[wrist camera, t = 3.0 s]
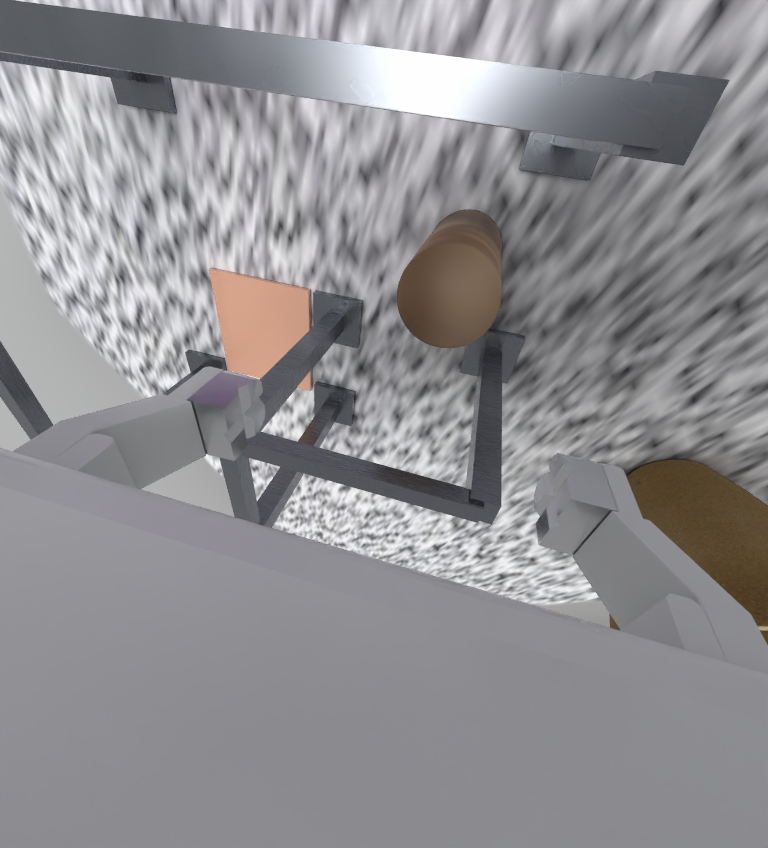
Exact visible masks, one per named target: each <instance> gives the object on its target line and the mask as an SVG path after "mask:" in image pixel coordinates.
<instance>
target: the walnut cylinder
mask: <svg viewBox="0 0 768 848" xmlns="http://www.w3.org/2000/svg"><path fill="white" fill-rule="evenodd" d="M501 285H502V239H501V235H500V231H499V229H498V227H497V225H496V224H495V223H494V221H493V220H492V219H491V218H490V217H489V216H487V215H486V214H484V213H482V212H479V211H476V210H461V211H457V212H454V213H452V214H450V215H449V216H447V217H446V218H444V219H443V220H442V221H441V222H440V223H439V224H438V226H437V227H436V228H435V230H434V231H433V232H432V234H431V235H430V236H429V238H428V239H427V240H426V242H425V243H424V244H423V246H422V247H421V248H420V250H419V251H418V252H417V254H416V255H415V256H414V258H413V259H412V260H411V262H410V263H409V264H408V266H407V267H406V269H405V270H404V272H403V274H402V276H401V278H400V281H399V285H398V290H397V305H398V310H399V313H400V316H401V318H402V320H403V322H404V324H405V325H406V327H407V328H408V329H409V331H410V332H411V333H412V334H413V335H414V336H415V337H417V338H418V339H419V340H421V341H423V342H425V343H427V344H429V345H432V346H436V347H441V348H455V347H460V346H464V345H467V344H469V343H471V342H473V341H475V340H477V339H478V338H480V337H481V336H482V335H483V334H484V333H485V332H486V331H487V330H488V329H489V328H490V327H491V325H492V324H493V322H494V321H495V319H496V317H497V314H498V312H499V308H500V304H501Z"/></svg>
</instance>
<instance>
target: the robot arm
mask: <svg viewBox="0 0 768 848" xmlns="http://www.w3.org/2000/svg"><path fill="white" fill-rule="evenodd" d="M262 393H263V389H262V382H261V381H259V380H258V379H256V378H252V377H249V376H245V375H241V374H238V373H234V372H230V371H227V370H226V371H225V370H222V369H218V368H214V367H211V366H210V367H204V368H203V369H202V370H200V371H199V372H198V373H196V374H195V375H194V376H192V377H191V378H190V379H188V380H187V381H186V382H185V383H183V384H182V385H181V386H179V387H178V388H177V389H175V390H174V391H173V392H171V393H170V394H169V395H164V394H161V395H157V396H153V397H149V398H146V399H142V400H138V401H134V402H131V403H127V404H123V405H120V406H116V407H112V408H108V409H104V410H100V411H97V412H93V413H89V414H86V415H82V416H78V417H74V418H70V419H67V420H63V421H60V422H58V423H56V424H55V425H53V426H52V427H50V428H49V429H47V430H46V431H44V432H42V433H41V434H39V435H38V436H36V437H35V438H33V439H31V440H30V441H28V442H27V443H25V444H24V445H22V446H20V447H19V448H17V449H16V450H14V451H13V452H12V451H9V450H5V449H2V448H0V848H768V645H767V643H766V641H765V639H764V638H763V636H762V634H761V632H760V630H759V628H758V626H757V625H756V623H755V621H754V619H753V617H752V615H751V614H750V613H749V612H748V611H747V610H746V609H745V608H744V607H743V606H741V605H740V604H739V603H738V602H737V601H736V600H735V599H734V598H733V597H732V596H731V595H730V594H729V593H727V592H726V591H725V590H724V589H723V588H722V587H721V586H720V585H719V584H718V583H717V582H716V581H715V580H713V579H712V578H711V577H710V576H709V575H708V574H707V573H706V572H705V571H704V570H703V569H702V568H700V567H699V566H698V565H697V564H696V563H695V562H694V561H693V560H692V559H691V558H690V557H689V556H688V555H686V554H685V553H684V552H683V551H682V550H681V549H680V548H679V547H678V546H677V545H676V544H675V543H674V542H672V541H671V540H670V539H669V538H668V537H667V536H666V535H665V534H664V533H663V532H662V531H661V530H660V529H658V528H657V527H656V526H655V525H654V524H653V523H652V522H651V521H650V520H646V519H643V517H642V515H641V512H640V510H639V507H638V505H637V502H636V500H635V497H634V495H633V492H632V490H631V487H630V485H629V482H628V480H627V477H626V475H625V472H624V470H623V469H622V468H620V467H618V466H613V465H609V464H604V463H600V462H598V463H597V462H593V461H589V460H584V459H580V458H576V457H572V456H568V455H564V454H560V453H557V454H556V455H555V456H554V457H553V458H552V460H551V461H550V463H549V467H550V472H548V473H546V474H544V475H542V476H541V478H540V480H539V482H538V484H537V487H536V490H535V495H534V507H535V510H536V511H537V513H538V514H539V515H540V518H539V519H538V521H537V523H536V526H537V535H538V544H539V545H540V546H544V547H547V548H550V549H554V550H557V551H560V552H564V553H567V554H570V555H574V556H573V558H574V560H575V561H576V563H577V564H578V566H579V567H580V569H581V570H582V572H583V574H584V575H585V577H586V578H587V580H588V581H589V583H590V584H591V586H592V587H593V589H594V590H595V592H596V593H597V595H598V596H599V598H600V599H601V601H602V602H603V604H604V605H605V607H606V609H607V610H608V611H609V613H610V615H611V616H612V618H613V619H614V621H615V622H616V624H617V625H618V627H619V628H620V631H619V630H616V629H613V628H609V627H606V626H602V625H599V624H596V623H592V622H589V621H586V620H582V619H578V618H575V617H572V616H568V615H565V614H562V613H558V612H555V611H552V610H548V609H545V608H541V607H538V606H535V605H531V604H528V603H525V602H521V601H518V600H514V599H511V598H508V597H504V596H501V595H497V594H494V593H491V592H487V591H484V590H480V589H477V588H474V587H470V586H467V585H463V584H460V583H457V582H453V581H450V580H446V579H443V578H439V577H436V576H433V575H429V574H426V573H422V572H419V571H416V570H412V569H409V568H405V567H402V566H399V565H395V564H392V563H388V562H385V561H382V560H378V559H375V558H372V557H368V556H365V555H361V554H358V553H355V552H351V551H348V550H344V549H341V548H338V547H334V546H331V545H328V544H324V543H321V542H317V541H314V540H311V539H307V538H304V537H300V536H297V535H294V534H290V533H287V532H283V531H280V530H277V529H273V528H270V527H267V526H263V525H260V524H256V523H253V522H250V521H246V520H243V519H239V518H236V517H233V516H229V515H226V514H222V513H219V512H216V511H212V510H209V509H205V508H202V507H199V506H195V505H191V504H188V503H185V502H181V501H178V500H175V499H172V498H168V497H165V496H161V495H158V494H154V493H151V492H148V491H144V490H141V489H142V488H144V487H145V486H147V485H149V484H151V483H153V482H155V481H157V480H159V479H161V478H163V477H165V476H167V475H169V474H171V473H173V472H175V471H177V470H179V469H181V468H183V467H185V466H186V465H188V464H190V463H192V462H194V461H196V460H198V459H200V458H202V457H204V456H206V454H208V455H212V456H216V457H220V458H224V459H228V460H232V461H235V460H236V458H237V457H238V456H239V455H240V454H241V452H242V451H243V450H244V449H245V448H246V446H247V439H248V438H250V437H253V436H255V435H256V434H257V433H258V432H259V430H260V429H261V427H262V424H263V422H264V419H265V405H264V403H263V402H262V401H261V399H260V398H259V396H260V395H261V394H262Z"/></svg>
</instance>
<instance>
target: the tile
mask: <svg viewBox="0 0 768 848" xmlns="http://www.w3.org/2000/svg"><path fill="white" fill-rule="evenodd" d="M209 272H210V277H211V282H212V288H213V293H214V298H215V303H216V308H217V314H218V319H219V324H220V329H221V334H222V340H223V345H224V350H225V355H226V361H227V366H228V370H230V371H234V372H238V373H242V374H246V375H250V376H254V377H258V378H262V377H263V376H264V375H265V374H266V373H267V372H268V371H269V370H270V369H271V368H272V367H273V366H274V365H275V364H276V363H277V362H278V361H279V360H280V359H281V358H282V357H283V356H284V355H285V354H286V353H287V352H288V351H289V350H290V349H291V348H292V347H293V346H294V345H295V344H296V343H297V342H298V341H299V340H300V339H301V338H302V337H303V336H304V335H305V334H306V333H307V332H308V331H309V330H310V329H311V289H307V288H303V287H298V286H294V285H289V284H284V283H280V282H275V281H271V280H266V279H261V278H257V277H252V276H248V275H243V274H238V273H234V272H229V271H225V270H220V269H216V268H210V269H209ZM297 388H301V389H305V390H309V391H311V390H312V370H311V371H310V372H309V373H308V375H307V376H306V377H305V378H304V379H303V381H302V382H301V383H300V384H299V385H298V387H297Z"/></svg>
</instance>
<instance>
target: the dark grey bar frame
mask: <svg viewBox="0 0 768 848" xmlns="http://www.w3.org/2000/svg"><path fill="white" fill-rule="evenodd" d="M0 61H6V62H13V63H19V64H26V65H32V66H39V67H46V68H52V69H59V70H65V71H72V72H79V73H85V74H92V75H98V76H105V77H111V81H112V84H113V88H114V92H115V95H116V99H117V103H118V104H122V105H128V106H134V107H140V108H147V109H153V110H159V111H165V112H172V113H177V112H176V107H175V102H174V97H173V92H172V87H171V82H170V77H171V78H177V79H184V80H191V81H197V82H204V83H211V84H217V85H224V86H231V87H237V88H244V89H251V90H257V91H264V92H271V93H278V94H284V95H291V96H298V97H304V98H311V99H318V100H324V101H331V102H338V103H344V104H351V105H358V106H364V107H371V108H378V109H384V110H391V111H398V112H405V113H411V114H418V115H425V116H431V117H438V118H445V119H451V120H458V121H465V122H471V123H478V124H485V125H491V126H498V127H505V128H512V129H518V130H525V131H530V133H529V136H528V139H527V143H526V146H525V150H524V153H523V156H522V160H521V163H520V167H519V169H521V170H527V171H534V172H540V173H546V174H552V175H558V176H564V177H571V178H577V179H583V180H589V181H590V178H591V176H592V173H593V171H594V168H595V166H596V163H597V161H598V159H599V156H600V154H601V153H606V154H612V155H618V156H625V157H631V158H638V159H644V160H651V161H658V162H664V163H671V164H677V165H684V164H685V162H686V160H687V158H688V157H689V155H690V153H691V151H692V149H693V147H694V145H695V143H696V142H697V140H698V138H699V136H700V134H701V132H702V130H703V129H704V127H705V125H706V123H707V121H708V119H709V117H710V115H711V114H712V112H713V110H714V108H715V106H716V104H717V102H718V101H719V99H720V97H721V95H722V93H723V91H724V89H725V87H726V86H727V84H728V82H729V80H725V79H717V78H709V77H701V76H693V75H685V74H677V73H669V72H661V71H654V72H652V73H650V74H647V75H645V76H643V77H641V78H638V79H636V80H631V79H623V78H615V77H607V76H599V75H592V74H584V73H576V72H568V71H560V70H553V69H545V68H537V67H529V66H521V65H514V64H506V63H498V62H490V61H482V60H474V59H467V58H459V57H451V56H443V55H435V54H428V53H420V52H412V51H404V50H396V49H389V48H381V47H373V46H365V45H357V44H349V43H342V42H334V41H326V40H318V39H310V38H303V37H295V36H287V35H279V34H271V33H264V32H256V31H248V30H240V29H232V28H225V27H217V26H209V25H201V24H193V23H185V22H178V21H170V20H162V19H154V18H146V17H139V16H131V15H123V14H115V13H107V12H100V11H92V10H84V9H76V8H68V7H61V6H53V5H45V4H37V3H29V2H21V1H14V0H0ZM362 302H363V301H362V300H358V299H353V298H349V297H344V296H339V295H335V294H330V293H326V292H321V291H315V292H314V293H313V311H314V326H313V327H312V328H311V329H310V330H309V331H308V332H307V333H306V334H305V335H304V336H303V337H302V338H301V339H300V340H299V341H298V342H297V343H296V344H295V345H294V346H293V347H292V348H291V349H290V350H289V351H288V352H287V353H286V354H285V355H284V356H283V357H282V358H281V359H280V360H279V361H278V362H277V363H276V364H275V365H274V366H273V367H272V368H271V369H270V370H269V371H268V372H267V373H266V374H265V375H264V376H263V377H262V378H261V379H260V380H259V381H261V382H262V389H263V393H262V394H261V395H260V396H259V398H260V399H261V401H262V402H263V403H264V405H265V419H264V422H263V424H262V427H261V429H260V430H259V432H258V433H257V434H256V435H255V436H253V437H250V438H248V439H247V446H246V448H245V449H244V450H243V451H242V452H241V454H240V455H239V456H238V457H237V458H236V460H235V461H232V460H228V459H224V458H220V461H221V465H222V469H223V473H224V477H225V481H226V485H227V489H228V492H229V496H230V500H231V504H232V507H233V512H234V516H235V517H236V518H239V519H243V520H246V521H250V522H253V523H256V524H260V525H263V526H267V527H270V528H272V526H273V525H274V523H275V521H276V520H277V518H278V516H279V515H280V513H281V511H282V510H283V508H284V506H285V504H286V503H287V501H288V499H289V498H290V496H291V494H292V493H293V491H294V489H295V488H296V486H297V484H298V483H299V481H300V479H301V478H302V476H303V474H304V473H305V474H308V475H312V476H315V477H319V478H322V479H326V480H329V481H333V482H336V483H340V484H343V485H347V486H350V487H354V488H357V489H361V490H364V491H368V492H371V493H375V494H378V495H382V496H385V497H389V498H392V499H396V500H399V501H403V502H406V503H410V504H413V505H417V506H420V507H424V508H428V509H431V510H435V511H438V512H442V513H445V514H449V515H452V516H456V517H459V518H463V519H466V520H470V521H473V522H477V523H478V522H479V521H482V522H485V523H489V524H492V523H493V521H494V519H495V517H496V515H497V513H498V511H499V510H500V508H501V456H502V382H503V383H508V380H509V378H510V375H511V373H512V370H513V368H514V365H515V363H516V361H517V358H518V356H519V353H520V351H521V348H522V346H523V343H524V341H525V336H523V335H518V334H514V333H509V332H504V331H500V330H495V329H491V328H489V329H488V330H487V331H486V332H485V333H484V334H483V335H482V336H481V337H480V338H478V339H477V340H475V341H473V342H471V343H469V344H467V347H466V350H465V353H464V357H463V360H462V364H461V367H460V371H459V372H461V373H465V374H469V375H474V376H478V378H477V387H476V396H475V406H474V415H473V424H472V433H471V443H470V452H469V461H468V470H467V480H466V488H464V487H460V486H456V485H453V484H449V483H446V482H442V481H438V480H435V479H431V478H427V477H424V476H420V475H416V474H413V473H409V472H405V471H402V470H398V469H394V468H391V467H387V466H384V465H380V464H376V463H373V462H369V461H365V460H362V459H358V458H354V457H351V456H347V455H343V454H340V453H336V452H332V451H329V450H325V449H322V448H319V447H320V445H321V444H322V442H323V440H324V439H325V437H326V435H327V434H328V432H329V430H330V429H331V427H332V425H333V424H334V422H337V423H341V424H345V425H349V426H351V425H352V424H353V416H354V404H355V391H352V390H348V389H344V388H340V387H336V386H332V385H328V384H324V383H320V382H316V383H315V385H314V399H315V417H314V418H313V420H312V421H311V423H310V424H309V426H308V427H307V429H306V430H305V432H304V433H303V435H302V436H301V438H300V439H299V441H298V442H296V441H292V440H289V439H285V438H281V437H278V436H274V435H270V434H267V433H263V432H260V431H261V430H262V429H263V428H264V427H265V425H266V424H267V423H268V422H269V421H270V419H271V418H272V417H273V416H274V414H275V413H276V412H277V411H278V410H279V408H280V407H281V406H282V405H283V404H284V402H285V401H286V400H287V399H288V398H289V396H290V395H291V394H292V393H293V391H294V390H295V389H296V388H297V387H298V385H299V384H300V383H301V382H302V381H303V379H304V378H305V377H306V376H307V375H308V373H309V372H310V371H311V370H312V368H313V367H314V366H315V365H316V364H317V362H318V361H319V360H320V359H321V358H322V356H323V355H324V354H325V353H326V351H327V350H328V349H329V348H330V347H331V345H332V344H333V343H338V344H342V345H346V346H350V347H355V348H357V347H358V346H359V340H360V328H361V315H362ZM185 353H186V356H187V360H188V364H189V367H190V371H191V373H190V374H189V375H187V376H186V377H185V378H183V379H182V380H181V381H179V382H178V383H177V384H175V385H174V386H173V387H171V388H170V389H169V390H167V391H166V392H165V393H163V394H164V395H169V394H170V393H171V392H173V391H174V390H175V389H177V388H178V387H179V386H181V385H182V384H183V383H185V382H186V381H187V380H188V379H190V378H191V377H192V376H194V375H195V374H196V373H198V372H199V371H200V370H202V369H203V368H204V367H210V366H211V367H214V368H218V369H222V370H225V371H226V370H227V369H226V364H225V358H221V357H217V356H213V355H209V354H205V353H201V352H197V351H193V350H188V351H187V352H185ZM0 397H1V398H2V400H3V401H4V403H5V404H6V405H7V407H8V408H9V410H10V411H11V412H12V414H13V415H14V417H15V418H16V419H17V421H18V422H19V424H20V425H21V427H22V428H23V429H24V431H25V432H26V433H27V435H28V436H29V437H30V439H33V438H35V437H36V436H38V435H39V434H41V433H42V432H44V431H46V430H47V429H49V428H50V427H52V426H53V424H52V422H51V421H50V419H49V417H48V416H47V414H46V413H45V411H44V410H43V408H42V407H41V405H40V403H39V402H38V400H37V398H36V397H35V395H34V394H33V392H32V391H31V389H30V388H29V386H28V384H27V383H26V382H25V379H24V378H23V376H22V375H21V373H20V372H19V370H18V368H17V367H16V365H15V364H14V362H13V361H12V359H11V357H10V356H9V354H8V353H7V351H6V349H5V348H4V346H3V345H2V343H1V342H0ZM249 458H252V459H255V460H259V461H263V462H266V463H270V464H273V465H277V466H280V469H279V470H278V472H277V473H276V475H275V476H274V478H273V479H272V481H271V482H270V484H269V485H268V487H267V488H266V490H265V491H264V492H263V494H262V495H261V497H260V498H259V500H258V501H256V495H255V490H254V484H253V479H252V474H251V468H250V463H249Z"/></svg>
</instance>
